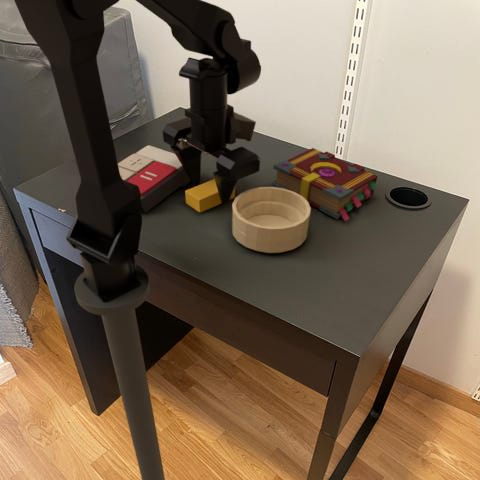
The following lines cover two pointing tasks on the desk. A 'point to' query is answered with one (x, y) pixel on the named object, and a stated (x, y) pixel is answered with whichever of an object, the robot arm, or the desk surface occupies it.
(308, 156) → the decorative book
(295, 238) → the bowl
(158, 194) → the calculator
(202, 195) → the block
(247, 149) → the robot arm
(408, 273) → the desk surface
